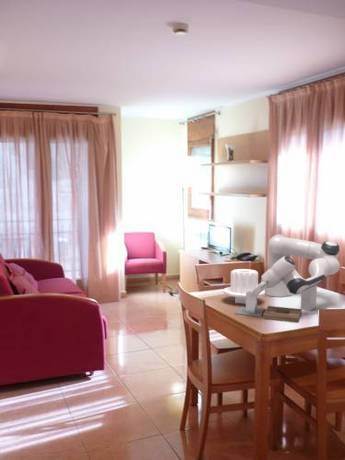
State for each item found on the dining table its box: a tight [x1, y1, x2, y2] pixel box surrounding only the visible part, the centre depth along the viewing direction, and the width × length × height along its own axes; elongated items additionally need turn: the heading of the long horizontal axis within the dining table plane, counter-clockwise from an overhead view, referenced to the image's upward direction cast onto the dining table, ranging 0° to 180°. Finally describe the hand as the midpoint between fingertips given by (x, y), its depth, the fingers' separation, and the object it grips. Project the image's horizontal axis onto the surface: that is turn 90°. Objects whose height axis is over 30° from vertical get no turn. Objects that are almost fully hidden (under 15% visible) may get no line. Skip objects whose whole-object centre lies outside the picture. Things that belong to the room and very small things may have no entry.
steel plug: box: [245, 291, 258, 313], centre depth 242 cm, size 5×5×11 cm
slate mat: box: [234, 306, 266, 318], centre depth 244 cm, size 14×14×1 cm
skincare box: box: [300, 285, 318, 312], centre depth 251 cm, size 8×6×15 cm
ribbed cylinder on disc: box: [223, 268, 266, 305], centre depth 266 cm, size 25×25×19 cm
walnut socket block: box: [262, 305, 302, 324], centre depth 236 cm, size 18×18×2 cm
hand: (251, 296), depth 242 cm, fingers open, 8 cm apart
